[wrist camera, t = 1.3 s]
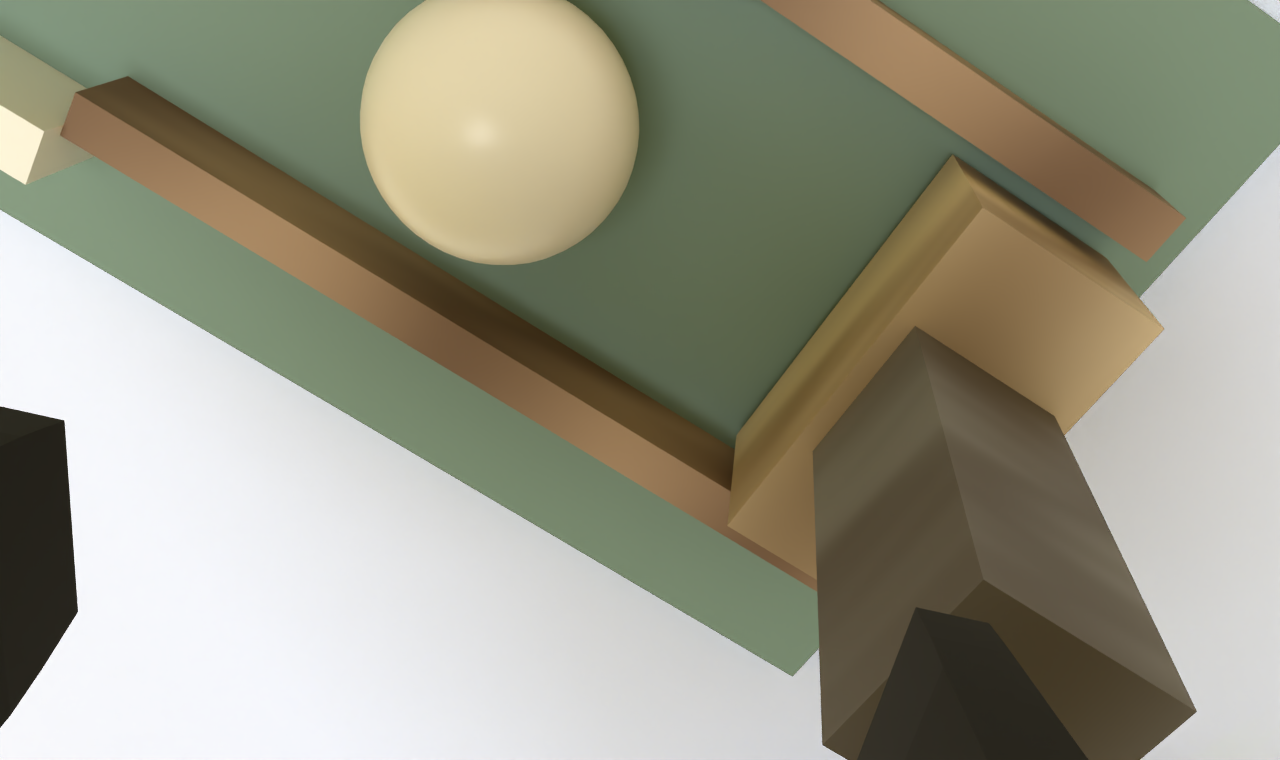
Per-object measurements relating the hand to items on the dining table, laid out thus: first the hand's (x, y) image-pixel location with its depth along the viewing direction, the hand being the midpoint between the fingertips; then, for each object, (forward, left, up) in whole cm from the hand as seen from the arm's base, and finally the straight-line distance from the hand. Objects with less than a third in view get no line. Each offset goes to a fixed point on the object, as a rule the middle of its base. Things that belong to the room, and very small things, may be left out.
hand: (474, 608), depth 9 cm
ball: (+3, -1, -8) cm, 9 cm away
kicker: (-5, -1, -11) cm, 12 cm away
